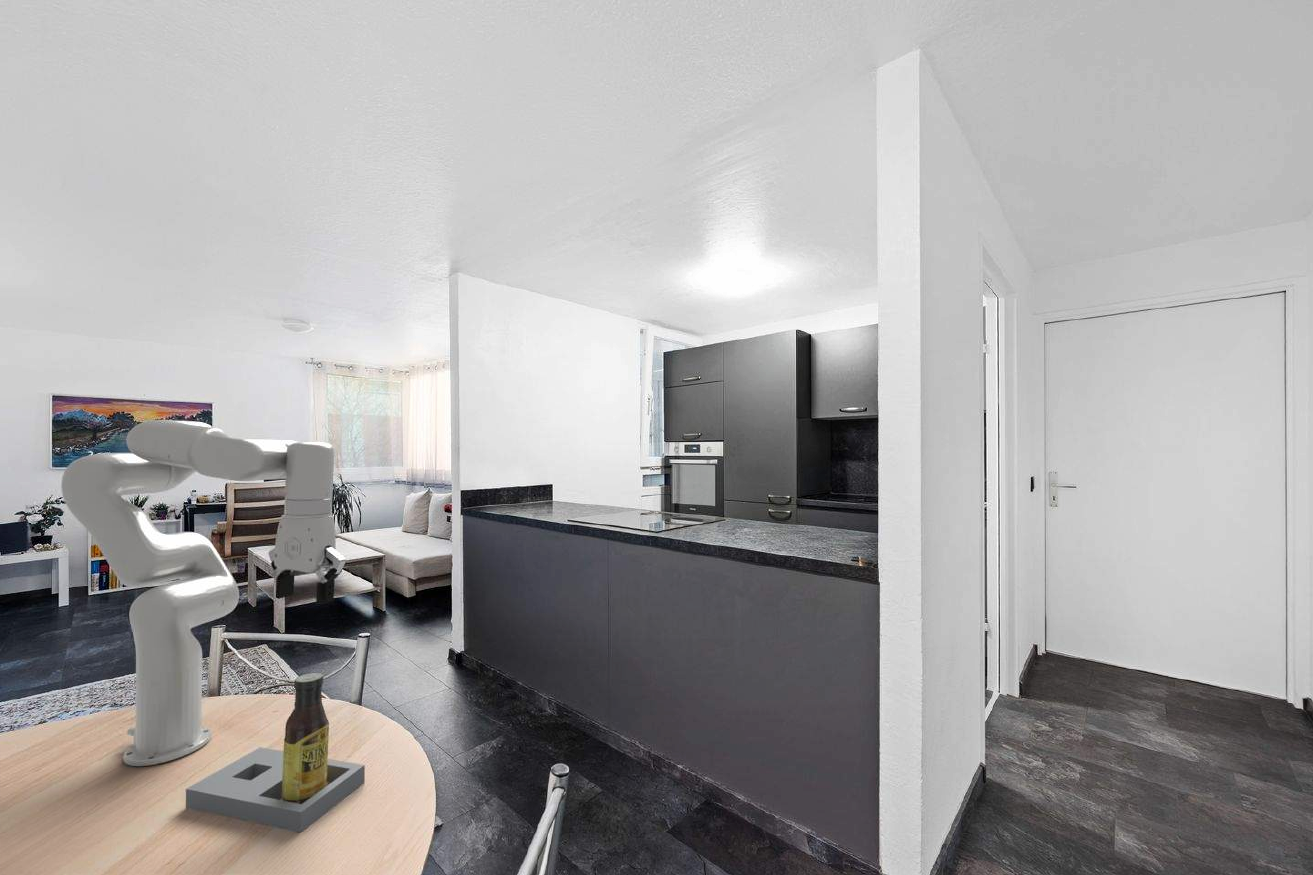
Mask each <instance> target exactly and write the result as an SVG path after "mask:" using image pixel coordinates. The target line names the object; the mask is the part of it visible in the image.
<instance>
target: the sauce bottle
mask: <svg viewBox="0 0 1313 875" xmlns="http://www.w3.org/2000/svg"><path fill="white" fill-rule="evenodd" d="M323 684H324V674H323V673H320V672H314V673H313V672H311V673H307V674H303V675H300V676H298V677H296V678H295V679H294V689H295V690H294V691H295V695H294V696H295V698H294V708H293V711H292V712H291V713H290V715H289V716H288V718H287V719H286V723H285V728H284V729H285V733H284V740H283V751H284V755H283V776H282V797H283V798H282V799H281V800H282V801H287V802H292V803H297V804H303V803H304V802H306V801H307V800H308V799H310V798H311V797H312V796H314V795H315V794H317V793H318V792H319V791H321V790H322V789H324V788H325V787H326V786H327V785H328V784H327V783H328V782H327V763H328V759H329V756H328V755H329V738H330V736H329V732H330V722H329V719H328V718H327V714H326V711H325V709H324V704H323V697H322V693H323V692H322V690H323V689H322V687H323Z"/></svg>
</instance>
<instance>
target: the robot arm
mask: <svg viewBox="0 0 1313 875" xmlns="http://www.w3.org/2000/svg"><path fill="white" fill-rule="evenodd" d="M125 442H126V446H127V448H128V450H129V451H130V452H106V453H96V454H95V453H94V454H89V455H85V456H81V457H79V458H77V459H75V460H74V461H72V462H70V464H69V465H67V466H66V468H65V469H64V472H63V474H62V478H61V495H62V498H63V501H64V503H65V504H66V506H67V508H68V510H69V511H70V513H71V514H72V515H73V516H74V517H75V519H76V520H77V521H78V522H79V523H80V524H82V527H84V528H85V529H86V530H87V532H88V533H89V534H90V535H91V537H92V538H93V540H94V541H95V544H96V545H97V547H98V549H99V551H100V552H101V554H102V556H103V557H104V559H105V560H106V562H107V563H108V565H109V567H110V568H111V570H112V572H113V574H114V576H115V577H116V578H117V579H118V581H119V582H120V583H121V584H123V585H124V586H125V587H128V588H143V587H149V586H154V585H158V584H162V583H165V584H162V585H159V586H155V587H153V588H150V589H148V590H146V591H144V592H143V593H141V594H140V595H138V597H137V598H135V600H134V601H133V602H132V604H131V606H130V608H129V613H128V616H129V624H130V626H131V631H132V634H133V639H134V645H135V675H136V676H135V677H136V679H135V680H136V681H135V682H136V683H135V686H136V687H135V689H136V690H135V726H133V727H130V728H129V729H127V733H126V734H127V735H128V736H131V737H133V744H132V745H130V746H129V747H128V748H127V749H126V750H125V751H124V752H123V755H122V756H123V758H122V759H123V760H122V761H123V763H124V764H125V765H128V766H132V767H145V766H154V765H158V764H162V763H163V764H164V763H167V762H170V761H174V760H176V759H180V758H182V757H185V756H187V755H190V754H191V753H194V752H195V751H196V750H197V751H198V750H199V749H201V748H202V747H204V746H205V745H207V743H208V742H209V741H210V740H211V738H212V729H211V728H210V727H208V726H205V725H202V713H203V712H202V709H203V707H202V704H203V702H202V698H203V697H202V696H203V649H202V646H201V644H200V642H199V640H198V639H197V638H196V637H195V636H194V634H193V633H192V630H191V629H192V628H195V627H197V626H200V625H202V624H207V623H209V622H213V621H215V620H218V619H220V618H223V617H226V616H227V615H228V614H231V612H233V611H234V610H235V608H236V607H237V605H238V604H239V599H240V590H239V587H238V584H237V582H236V579H235V578H234V576H233V574H232V572H231V571H230V570H229V568H228V566H227V565H226V563H225V562H224V560H223V558H222V557H221V555H220V554H219V552H218V550H217V549H216V547H215V545H214V544H213V543H212V541H210V539H209V538H207V537H206V536H204V535H202V534H201V533H198V532H193V531H182V532H180V531H179V532H174V533H162V532H160V531H159V530H158V529H157V527H156V526H155V525H154V523H153V521H152V520H151V518H150V517H149V515H148V514H147V513H146V512H145V511H144V510H143V509H141V508H140V507H138V506H137V505H135V504H133V503H131V502H130V501H127V500H126V499H124V497H122V496H128V495H129V496H130V495H138V494H139V495H140V494H142V495H143V494H156V493H162V492H167V491H170V490H172V489H174V488H176V487H178V486H179V485H181V484H182V483H183V482H185V481H186V480H187V479H188V478H190V477H191V476H192V475H193V474H194V473H196V472H197V473H198V474H200V475H202V476H206V477H209V478H214V479H215V478H216V479H222V480H226V481H227V480H229V481H235V482H253V481H256V482H257V481H267V480H284V479H285V486H284V487H285V488H284V505H283V506H284V509H283V514H281V516H280V519H279V523H278V526H277V532H276V537H275V544H274V545H275V546H274V548H272V549H271V550H269V551H268V557H269V560H270V562H271V563H270V566H271V568H272V569H273V576H274V577H276V578H275V599H283V598H286V597H290V596H293V594H295V593H294V592H295V573H293V572H301V573H315V574H316V576H317V578H318V580H319V582H317V583H316V597H315V598H316V599H315V602H316V603H315V604H316V605H317V606H318V605H321V606H322V605H324V604H327V603H330V602H333V601H334V597H335V581H337V579H338V578H339V576H340V574H341V573H342V572H343V567H344V566H345V564H346V558H345V557H344V556H343V555H341V553H339V552H338V551H337V550H336V548H337V547H336V529H335V528H336V527H335V521H334V516H333V515H332V514H333V512H332V511H333V509H332V508H333V492H334V491H333V489H334V488H333V487H334V470H335V469H334V466H335V448H334V446H333V445H331V443H326V442H318V441H317V442H315V441H312V442H311V441H296V440H289V439H260V438H256V439H255V438H254V439H253V438H252V439H250V438H249V439H247V438H234V437H229V436H228V434H227V433H226V432H225V431H223V430H222V429H221V428H217V427H213V426H211V425H210V424H207V423H205V422H201V421H192V420H173V419H152V420H147V421H142V422H140V423H139V424H136V425H135V426H134V427H132V429H130V431H128V434H127V435H126V440H125ZM325 571H326V573H325ZM175 580H178V581H175ZM171 581H174V582H171ZM167 582H170V583H167ZM166 583H167V584H166Z"/></svg>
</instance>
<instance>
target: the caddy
mask: <svg viewBox="0 0 1313 875" xmlns="http://www.w3.org/2000/svg"><path fill="white" fill-rule="evenodd" d="M283 755H284V750H278V749H273V748H266V747H261V746H259V747H258V748H256V749H254V750H253V751H251V752H248V753H247V754H246V755H244V756H242V757H240V758H238V759H237V760H235V761H233V762H231V763H230V764H228V765H225V766H224V767H222V768H221V769H218V770H217V771H216V772H214V773H212V774H210V775H208V776H206V777H205V778H203V779H200V780H199V781H197V782H195V783H194V784H192V785H191V786H189V787H186V789H185V809H188V810H189V809H190V810H194V811H199V812H203V813H207V814H208V813H209V814H213V815H218V816H222V817H227V818H232V819H236V820H241V821H245V822H246V821H247V822H249V823H255V824H259V825H265V826H269V827H273V828H278V829H283V830H287V831H292V832H297V833H302V832H303V831H304V830H306V829H307V828H309V826H311V825H312V824H313V823H315V822H316V821H317V820H319V819H320V818H321V817H323V815H325V814H326V813H328V812H329V811H330V810H332V809H333V808H334V807H335V806H337V804H339V803H340V802H342V801H343V800H344V799H346V798H347V797H348V796H349V795H351V794H352V793H353V792H354V791H356V790H357V789H358V788H359V787H361V786H363V785H364V784H365V781H366V780H365V777H366V775H365V771H366V770H365V769H366V768H365V766H366V765H365V764H361V763H355V762H349V761H343V760H336V759H332V758H328V763H327V783H328V784H327V785H326V787H325V788H324V789H322V790H321V791H319V792H318V793H317V794H315V795H314V796H312V797H311V798H310V799H308V800H307V801H306V802H304V803H303V804H297V803H292V802H287V801H282V800H283V797H282V776H283Z"/></svg>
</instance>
